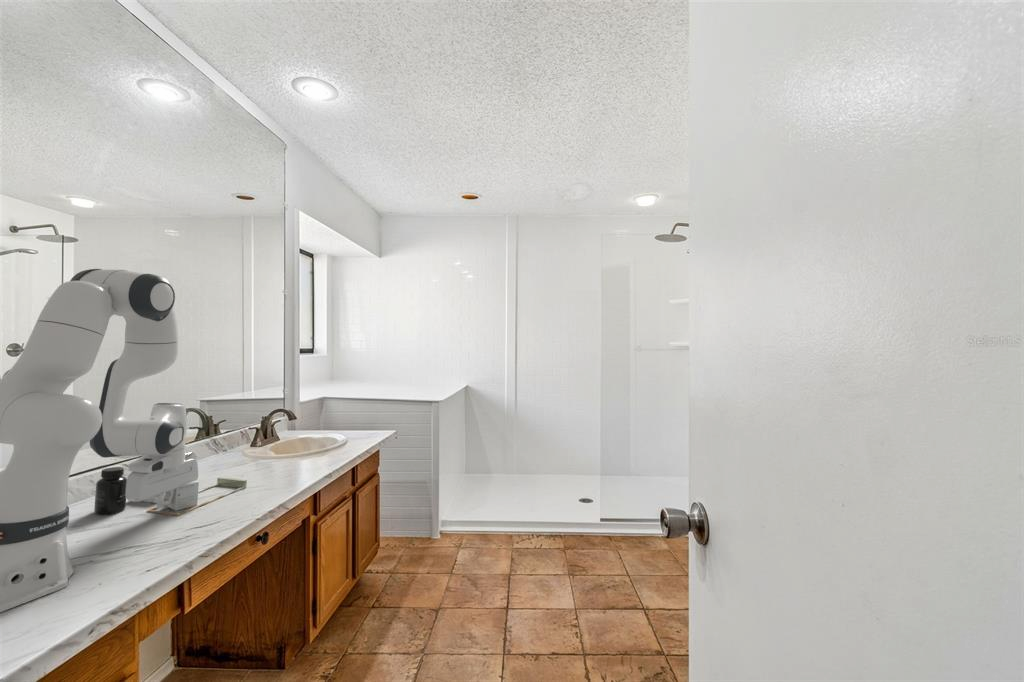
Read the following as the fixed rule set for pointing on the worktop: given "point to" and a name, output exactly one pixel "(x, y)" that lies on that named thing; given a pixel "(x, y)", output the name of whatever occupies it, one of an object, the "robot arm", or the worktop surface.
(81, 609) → the worktop surface
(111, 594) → the worktop surface
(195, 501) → the product box
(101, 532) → the worktop surface
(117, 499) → the supplement bottle
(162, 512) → the track
